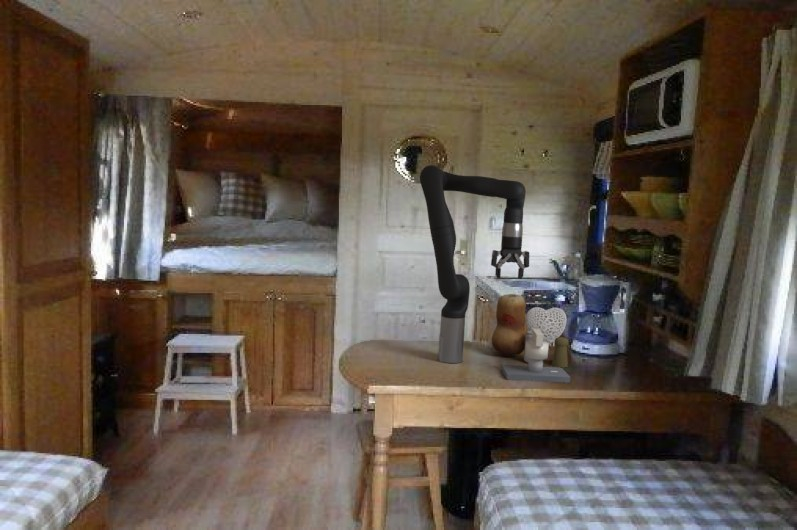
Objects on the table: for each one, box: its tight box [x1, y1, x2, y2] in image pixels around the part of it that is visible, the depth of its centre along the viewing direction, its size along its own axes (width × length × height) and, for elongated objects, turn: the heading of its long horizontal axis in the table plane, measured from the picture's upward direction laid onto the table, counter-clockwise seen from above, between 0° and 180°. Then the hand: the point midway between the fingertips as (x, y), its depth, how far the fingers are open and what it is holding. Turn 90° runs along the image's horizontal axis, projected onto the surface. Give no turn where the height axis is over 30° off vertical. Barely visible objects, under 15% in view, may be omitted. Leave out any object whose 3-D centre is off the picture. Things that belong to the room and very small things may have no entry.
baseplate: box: [501, 358, 571, 384], centre depth 219 cm, size 22×12×7 cm, turn 90°
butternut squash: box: [491, 293, 527, 357], centre depth 245 cm, size 14×13×25 cm
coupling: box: [524, 329, 550, 361], centre depth 219 cm, size 11×8×9 cm
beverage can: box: [523, 330, 532, 364], centre depth 238 cm, size 6×6×12 cm
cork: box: [551, 336, 569, 369], centre depth 235 cm, size 6×6×11 cm
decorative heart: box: [525, 306, 568, 347], centre depth 265 cm, size 18×11×17 cm, turn 98°
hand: (509, 278), depth 230 cm, fingers open, 8 cm apart
